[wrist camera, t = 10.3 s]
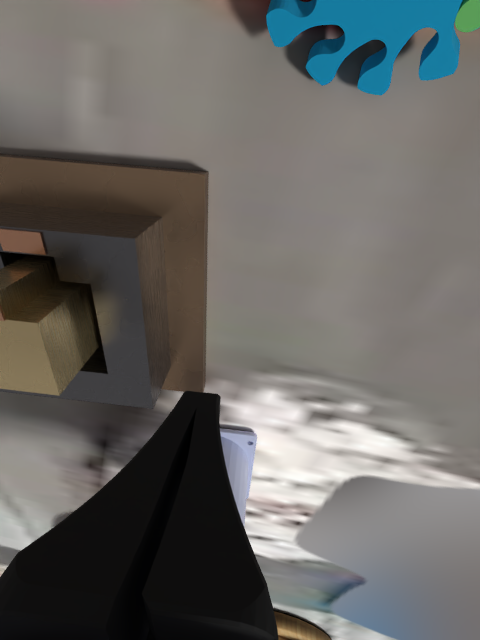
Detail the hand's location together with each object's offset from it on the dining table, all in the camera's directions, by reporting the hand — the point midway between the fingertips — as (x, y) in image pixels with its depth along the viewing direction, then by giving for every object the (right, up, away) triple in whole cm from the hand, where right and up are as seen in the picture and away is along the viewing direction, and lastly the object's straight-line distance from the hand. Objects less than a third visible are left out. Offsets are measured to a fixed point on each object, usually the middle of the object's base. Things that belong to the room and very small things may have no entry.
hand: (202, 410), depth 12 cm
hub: (-8, +6, +8) cm, 13 cm away
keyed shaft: (-8, +6, +7) cm, 12 cm away
